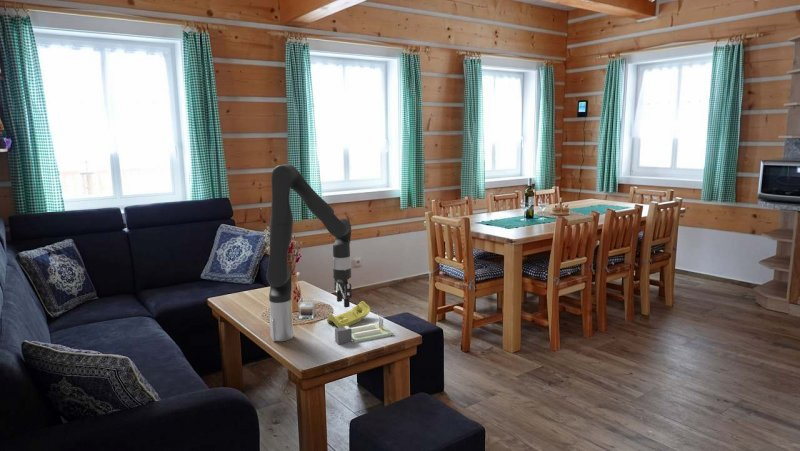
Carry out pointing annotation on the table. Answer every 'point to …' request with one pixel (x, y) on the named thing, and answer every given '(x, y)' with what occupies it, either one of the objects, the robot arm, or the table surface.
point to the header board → (370, 332)
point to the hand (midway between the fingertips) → (343, 304)
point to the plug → (343, 335)
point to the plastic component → (350, 315)
